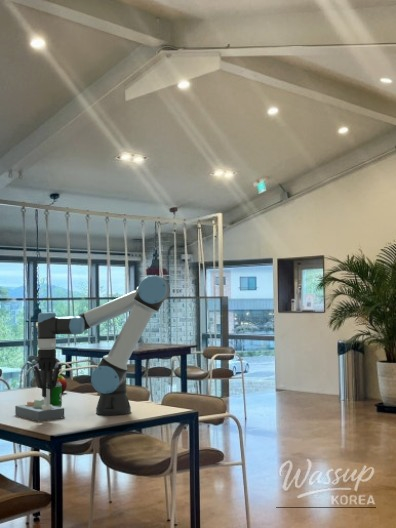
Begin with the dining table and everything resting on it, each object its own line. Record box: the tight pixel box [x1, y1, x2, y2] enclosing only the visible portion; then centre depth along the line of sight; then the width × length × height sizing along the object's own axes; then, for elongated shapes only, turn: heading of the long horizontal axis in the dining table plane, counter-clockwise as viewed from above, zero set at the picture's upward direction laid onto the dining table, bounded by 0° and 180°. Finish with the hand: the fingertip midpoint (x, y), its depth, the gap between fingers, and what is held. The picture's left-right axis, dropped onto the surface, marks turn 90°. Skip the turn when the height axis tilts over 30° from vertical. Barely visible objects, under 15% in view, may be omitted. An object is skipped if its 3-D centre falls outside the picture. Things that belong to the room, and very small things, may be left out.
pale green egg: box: [33, 398, 44, 408], centre depth 283 cm, size 4×4×5 cm
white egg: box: [42, 405, 52, 410], centre depth 278 cm, size 4×4×5 cm
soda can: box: [47, 382, 63, 408], centre depth 305 cm, size 8×8×12 cm
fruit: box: [57, 374, 68, 394], centre depth 359 cm, size 11×11×10 cm
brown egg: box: [26, 400, 34, 407], centre depth 288 cm, size 4×4×5 cm
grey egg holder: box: [14, 404, 65, 422], centre depth 283 cm, size 22×12×4 cm, turn 40°
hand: (46, 404), depth 278 cm, fingers closed
